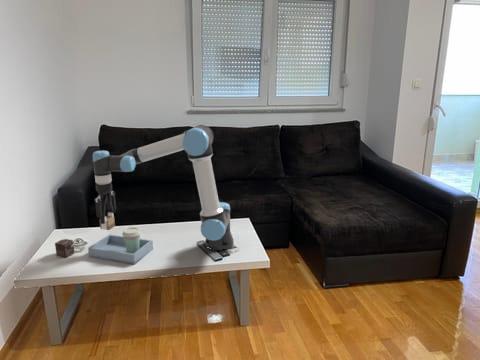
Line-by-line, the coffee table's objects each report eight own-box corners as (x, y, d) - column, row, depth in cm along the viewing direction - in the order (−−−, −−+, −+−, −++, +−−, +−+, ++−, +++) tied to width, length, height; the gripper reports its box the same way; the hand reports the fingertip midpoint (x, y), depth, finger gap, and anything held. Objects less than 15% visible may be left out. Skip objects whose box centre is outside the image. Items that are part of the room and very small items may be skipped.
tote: (153, 249, 196) (152, 240, 195) (134, 264, 181) (134, 254, 179) (110, 242, 204) (109, 234, 202) (89, 257, 188) (88, 247, 187)
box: (65, 258, 187) (63, 244, 185) (56, 256, 189) (54, 243, 187) (74, 253, 192) (73, 240, 190) (65, 251, 194) (63, 238, 192)
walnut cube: (115, 226, 192) (114, 217, 191) (108, 230, 188) (108, 220, 186) (106, 225, 194) (105, 215, 192) (100, 228, 189) (99, 219, 188)
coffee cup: (144, 249, 194) (142, 227, 191) (137, 256, 186) (135, 234, 183) (129, 247, 196) (127, 226, 192) (121, 255, 188) (119, 233, 184)
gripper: (108, 177, 193) (112, 219, 200) (84, 187, 177) (90, 232, 183) (121, 178, 191) (125, 221, 198) (98, 188, 175) (103, 234, 181)
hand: (108, 226), depth 190 cm, fingers closed on walnut cube, 5 cm apart
